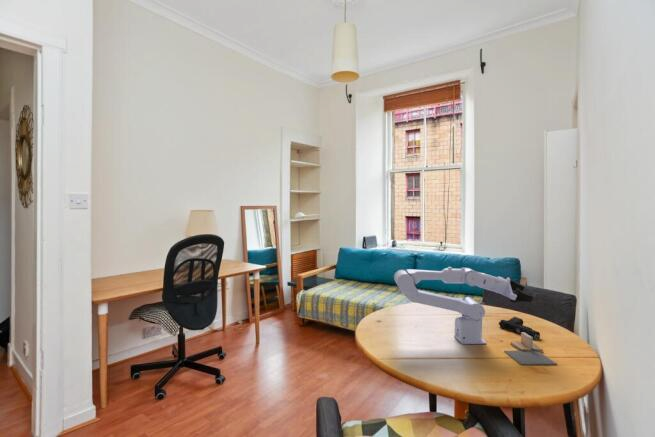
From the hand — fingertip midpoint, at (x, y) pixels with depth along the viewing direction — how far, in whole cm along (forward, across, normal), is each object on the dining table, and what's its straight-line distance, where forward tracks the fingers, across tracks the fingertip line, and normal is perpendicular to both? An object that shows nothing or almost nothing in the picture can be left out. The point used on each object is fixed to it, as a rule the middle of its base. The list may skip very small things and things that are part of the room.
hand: (527, 294), depth 128 cm
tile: (+2, -11, +16) cm, 20 cm away
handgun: (+10, +7, +20) cm, 23 cm away
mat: (-1, -19, +15) cm, 24 cm away
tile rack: (+2, -11, +16) cm, 20 cm away
